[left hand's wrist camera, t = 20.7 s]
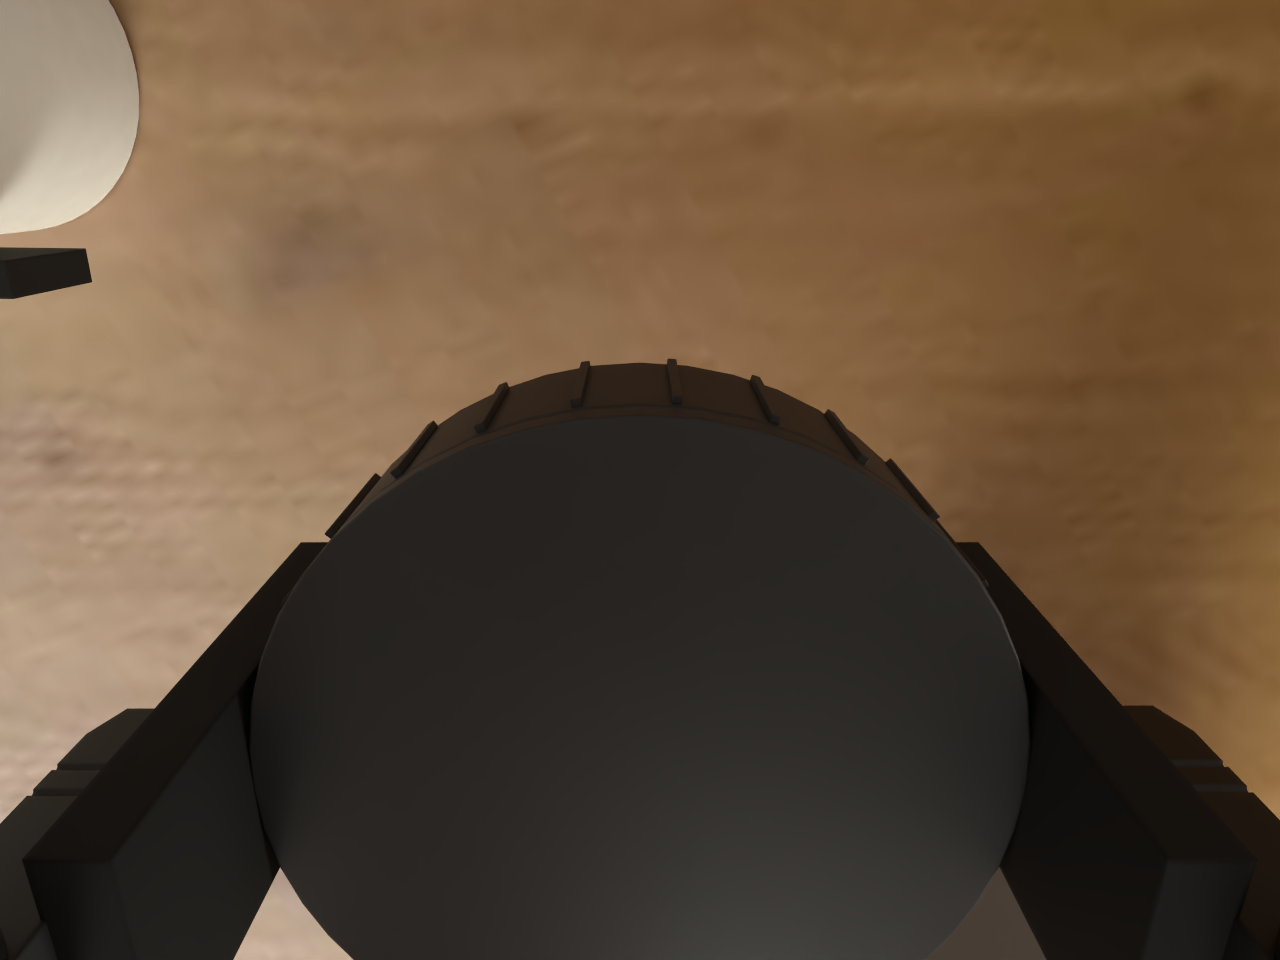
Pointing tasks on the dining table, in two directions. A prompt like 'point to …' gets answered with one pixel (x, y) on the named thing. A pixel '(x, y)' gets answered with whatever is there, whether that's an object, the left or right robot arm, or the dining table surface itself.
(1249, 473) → the dining table surface
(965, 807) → the lid
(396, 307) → the dining table surface
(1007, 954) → the left robot arm
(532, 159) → the dining table surface
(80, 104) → the jar
